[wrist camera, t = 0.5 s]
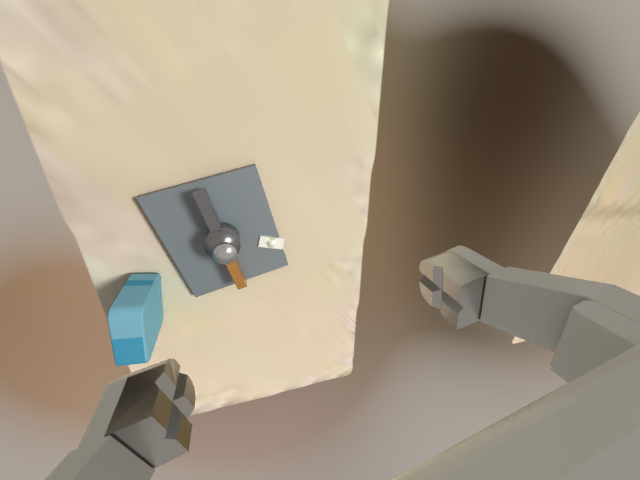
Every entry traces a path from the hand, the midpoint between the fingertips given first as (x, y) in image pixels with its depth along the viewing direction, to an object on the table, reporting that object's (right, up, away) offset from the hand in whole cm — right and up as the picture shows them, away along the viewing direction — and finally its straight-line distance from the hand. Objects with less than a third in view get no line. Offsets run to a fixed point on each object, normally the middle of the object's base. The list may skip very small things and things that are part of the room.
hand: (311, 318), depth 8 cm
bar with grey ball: (-18, +3, +40) cm, 44 cm away
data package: (-34, -9, +42) cm, 55 cm away
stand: (-19, +4, +41) cm, 45 cm away
